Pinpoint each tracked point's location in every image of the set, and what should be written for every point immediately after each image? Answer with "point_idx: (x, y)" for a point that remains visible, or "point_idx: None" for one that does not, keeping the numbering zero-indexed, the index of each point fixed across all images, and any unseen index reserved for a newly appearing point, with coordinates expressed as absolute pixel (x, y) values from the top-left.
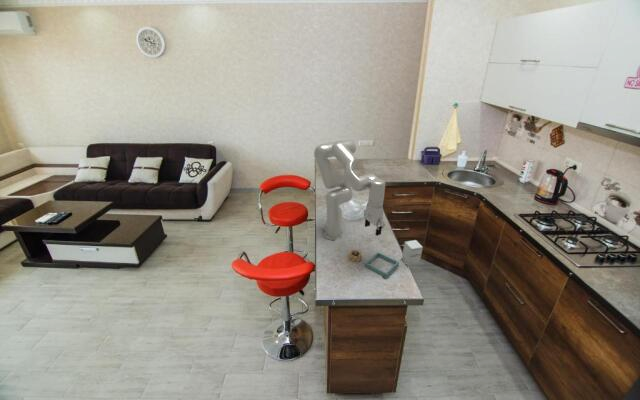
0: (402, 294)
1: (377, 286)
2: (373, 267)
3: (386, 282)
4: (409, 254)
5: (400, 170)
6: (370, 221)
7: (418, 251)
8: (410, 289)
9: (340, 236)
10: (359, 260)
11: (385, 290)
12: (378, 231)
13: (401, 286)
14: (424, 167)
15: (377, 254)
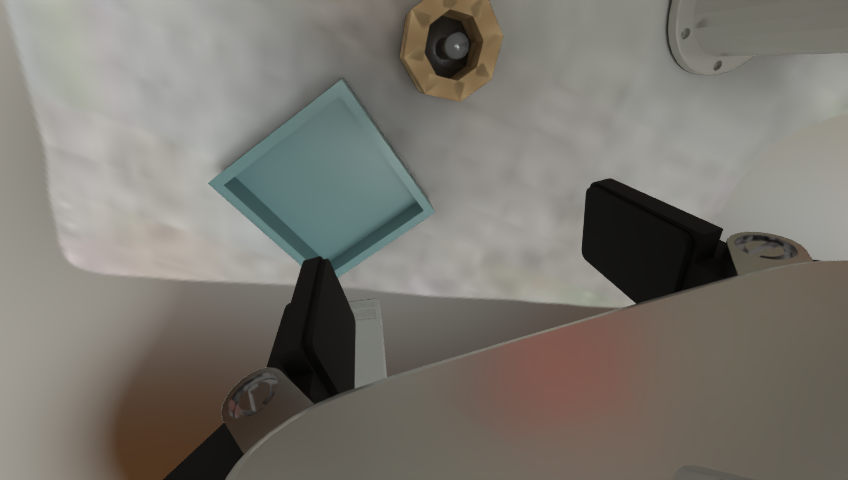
0: (83, 211)
1: (142, 89)
2: (284, 124)
3: (191, 163)
4: None
5: None
6: (529, 386)
7: None
8: (138, 262)
9: (686, 37)
10: (403, 64)
11: (105, 127)
12: (273, 348)
13: (160, 229)
14: None
15: (417, 201)
